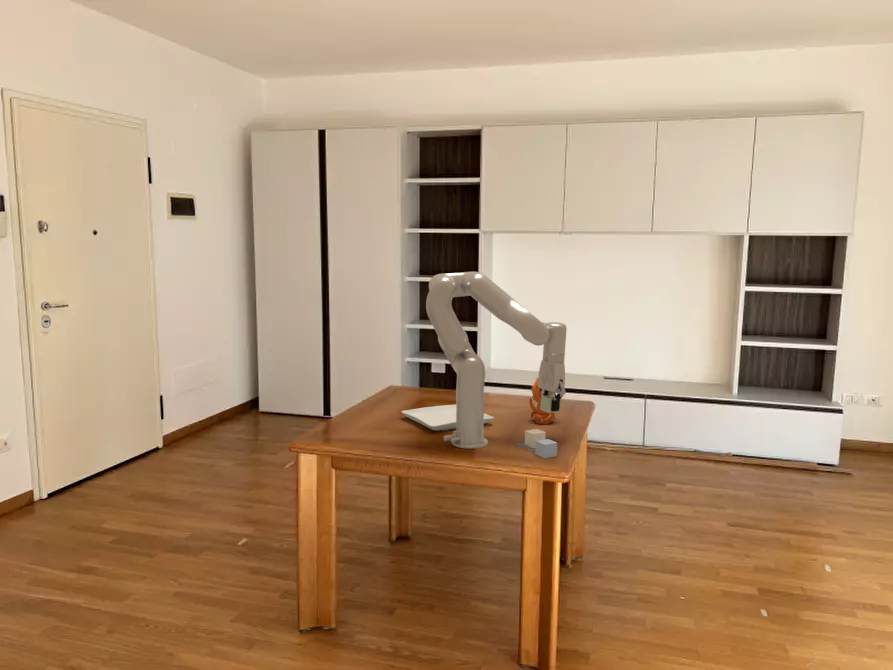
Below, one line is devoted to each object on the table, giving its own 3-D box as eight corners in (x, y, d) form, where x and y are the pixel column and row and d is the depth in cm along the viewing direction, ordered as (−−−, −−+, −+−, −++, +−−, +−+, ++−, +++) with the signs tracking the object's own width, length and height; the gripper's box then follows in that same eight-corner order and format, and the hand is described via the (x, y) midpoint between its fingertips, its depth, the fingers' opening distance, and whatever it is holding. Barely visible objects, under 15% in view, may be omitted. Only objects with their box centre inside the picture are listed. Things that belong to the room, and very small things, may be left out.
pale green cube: (548, 412, 242) (549, 398, 241) (540, 409, 246) (541, 395, 246) (560, 411, 244) (561, 397, 244) (551, 408, 249) (552, 394, 248)
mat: (531, 452, 232) (531, 451, 232) (514, 444, 241) (514, 443, 241) (555, 448, 237) (555, 447, 237) (538, 441, 246) (538, 439, 246)
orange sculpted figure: (561, 420, 273) (562, 375, 271) (551, 427, 264) (552, 380, 262) (535, 417, 279) (536, 372, 277) (524, 423, 270) (525, 377, 267)
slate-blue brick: (544, 459, 225) (544, 444, 224) (535, 455, 230) (535, 440, 229) (556, 457, 227) (557, 442, 227) (547, 453, 232) (548, 438, 231)
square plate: (495, 426, 267) (495, 416, 266) (431, 436, 254) (431, 425, 253) (459, 411, 290) (459, 402, 290) (400, 419, 277) (400, 409, 277)
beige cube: (533, 448, 236) (533, 434, 235) (524, 444, 240) (525, 430, 239) (545, 446, 238) (545, 432, 237) (536, 442, 242) (536, 428, 242)
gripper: (530, 354, 248) (527, 404, 251) (559, 362, 234) (556, 415, 236) (547, 353, 252) (544, 403, 254) (577, 361, 237) (573, 414, 239)
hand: (550, 408), depth 245 cm, fingers closed on pale green cube, 4 cm apart
